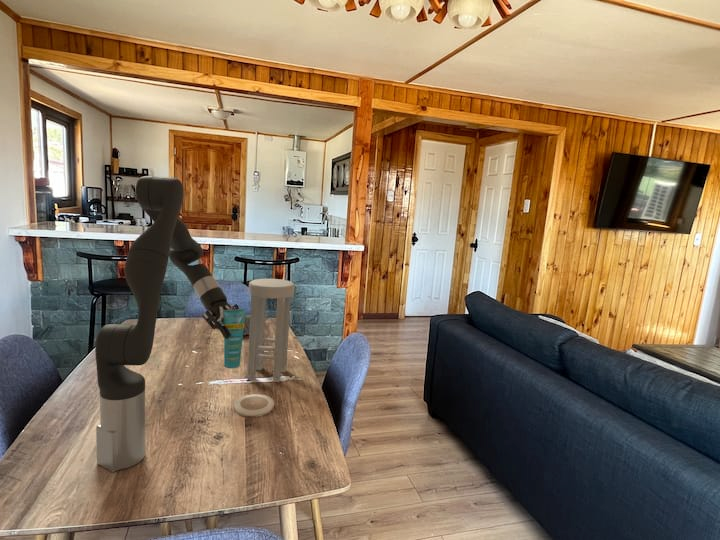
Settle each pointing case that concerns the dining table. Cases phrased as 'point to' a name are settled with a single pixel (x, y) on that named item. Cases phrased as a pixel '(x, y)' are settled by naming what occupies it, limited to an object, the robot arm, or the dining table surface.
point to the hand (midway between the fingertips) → (235, 335)
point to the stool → (259, 293)
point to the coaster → (253, 405)
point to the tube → (233, 336)
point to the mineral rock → (247, 325)
